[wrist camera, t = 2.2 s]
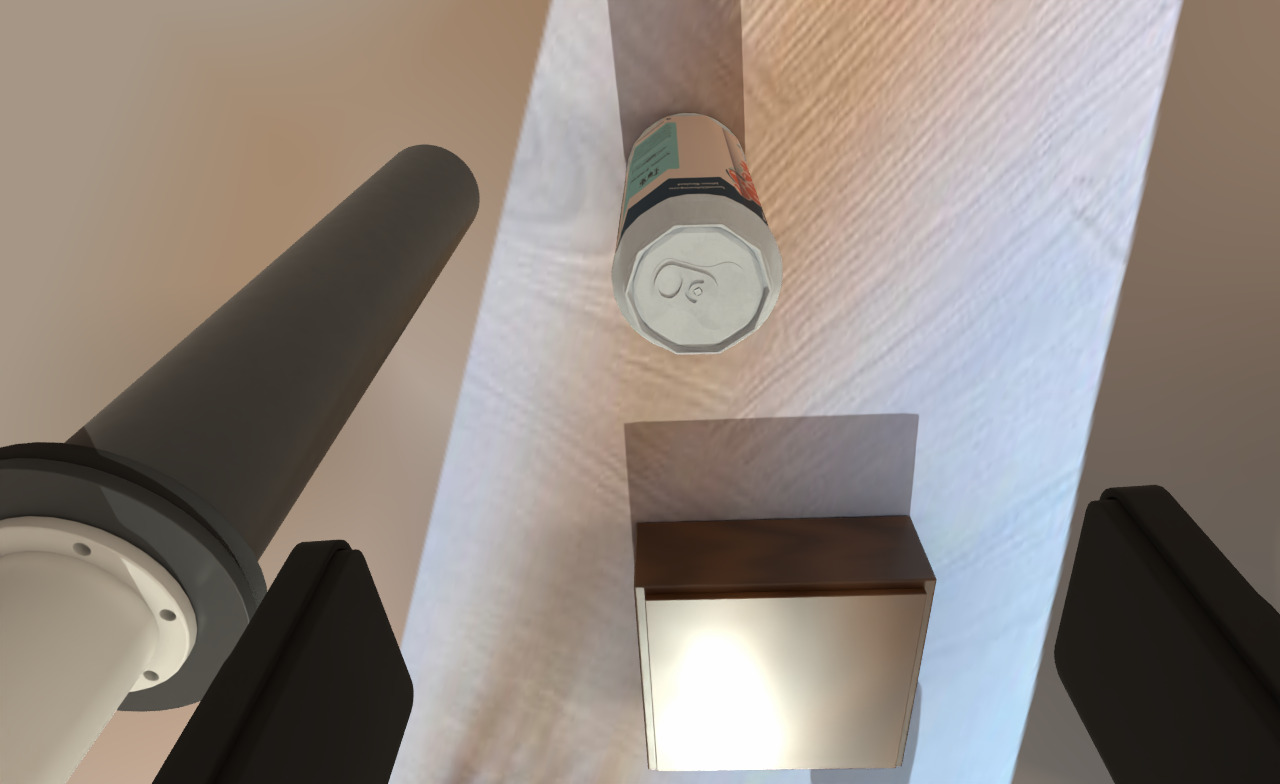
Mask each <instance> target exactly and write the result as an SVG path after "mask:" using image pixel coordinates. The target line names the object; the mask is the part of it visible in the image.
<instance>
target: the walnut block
mask: <svg viewBox="0 0 1280 784" xmlns="http://www.w3.org/2000/svg"><path fill="white" fill-rule="evenodd" d="M935 585H936V577H935V575H934V572H933V570H932V568H931V565H930V563H929V561H928V558H927V556H926V553H925V551H924V549H923V546H922V544H921V542H920V539H919V537H918V534H917V532H916V530H915V527H914V525H913V523H912V520H911V518H910V516H887V517H849V518H812V519H774V520H737V521H700V522H662V523H637V525H636V547H635V572H634V594H635V607H636V620H637V632H638V645H639V658H640V671H641V684H642V696H643V709H644V722H645V735H646V747H647V760H648V769H650V770H654V769H657V771H694V770H778V769H861V768H896V767H900V766H902V761H903V756H904V751H905V745H906V740H907V735H908V729H909V724H910V719H911V713H912V708H913V703H914V697H915V692H916V687H917V681H918V676H919V670H920V665H921V660H922V654H923V649H924V644H925V638H926V633H927V628H928V622H929V617H930V612H931V606H932V601H933V596H934V590H935Z"/></svg>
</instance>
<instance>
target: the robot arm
mask: <svg viewBox="0 0 1280 784" xmlns="http://www.w3.org/2000/svg"><path fill="white" fill-rule="evenodd" d="M196 634H197V624H196V617H195V613H194V610H193V608H192V606H191V603H190V601H189V598H188V597H187V595H186V594H185V592H184V591H183V589H182V588H181V586H180V585H179V583H178V582H177V581H176V580H175V579H174V578H173V577H172V575H171V574H170V573H169V572H168V571H167V570H166V569H165V568H164V567H163V566H162V565H161V564H159V563H158V562H157V561H156V560H154V559H153V558H152V557H151V556H149V555H148V554H147V553H145V552H144V551H142V550H141V549H139V548H137V547H136V546H134V545H132V544H131V543H129V542H127V541H126V540H124V539H122V538H120V537H117V536H115V535H113V534H111V533H109V532H106V531H104V530H102V529H99V528H96V527H93V526H89V525H86V524H83V523H80V522H76V521H71V520H65V519H60V518H54V517H38V516H25V517H16V518H7V519H4V520H1V521H0V784H66V782H67V781H68V779H69V778H70V776H71V775H72V774H73V772H74V771H75V769H76V767H77V766H78V765H79V763H80V762H81V761H82V759H83V758H84V756H85V755H86V753H87V752H88V750H89V749H90V748H91V746H92V745H93V743H94V742H95V740H96V739H97V738H98V736H99V734H100V733H101V732H102V730H103V729H104V727H105V726H106V725H107V723H108V722H109V720H110V719H111V717H112V716H113V714H114V713H115V712H116V710H117V709H118V707H119V706H120V704H121V703H122V701H123V700H124V699H125V697H126V696H127V694H128V693H129V692H134V691H138V690H142V689H146V688H150V687H153V686H155V685H158V684H160V683H162V682H164V681H166V680H167V679H169V678H170V677H171V676H173V675H174V674H175V673H176V672H178V670H179V669H180V667H181V666H182V665H183V663H184V662H185V660H186V659H187V657H188V656H189V654H190V652H191V650H192V648H193V646H194V644H195V641H196ZM1054 655H1055V656H1054V657H1055V664H1056V668H1057V671H1058V675H1059V677H1060V679H1061V681H1062V683H1063V685H1064V687H1065V689H1066V690H1067V693H1068V695H1069V697H1070V698H1071V700H1072V702H1073V704H1074V706H1075V708H1076V710H1077V712H1078V714H1079V716H1080V718H1081V720H1082V722H1083V723H1084V725H1085V727H1086V729H1087V731H1088V733H1089V735H1090V737H1091V739H1092V741H1093V743H1094V745H1095V746H1096V748H1097V750H1098V752H1099V754H1100V756H1101V758H1102V760H1103V762H1104V763H1105V766H1106V768H1107V769H1108V771H1109V773H1110V775H1111V777H1112V779H1113V781H1114V783H1115V784H1280V614H1279V613H1278V612H1277V611H1276V610H1275V609H1274V608H1273V606H1272V605H1270V604H1269V603H1268V602H1267V601H1266V600H1265V599H1264V598H1263V597H1261V596H1260V595H1259V594H1258V593H1257V592H1256V591H1255V590H1254V588H1253V587H1252V586H1251V585H1250V584H1249V583H1248V582H1247V581H1246V579H1245V578H1244V577H1243V576H1242V575H1241V574H1240V573H1239V571H1238V570H1237V569H1236V568H1235V567H1234V566H1233V565H1232V564H1231V562H1230V561H1229V560H1228V559H1227V558H1226V557H1225V556H1224V555H1223V553H1222V552H1221V551H1220V550H1219V549H1218V548H1217V546H1216V545H1215V544H1214V543H1213V542H1212V541H1211V540H1210V539H1209V537H1208V536H1207V535H1206V534H1205V533H1204V532H1203V531H1202V530H1201V528H1200V527H1199V526H1198V525H1197V524H1196V523H1195V522H1194V520H1193V519H1192V518H1191V517H1190V516H1189V515H1188V514H1187V512H1186V511H1185V510H1184V509H1183V508H1182V507H1181V506H1180V505H1179V504H1178V502H1177V501H1176V500H1175V499H1174V498H1173V497H1172V495H1171V494H1170V493H1169V492H1168V491H1167V490H1165V489H1164V488H1163V487H1161V486H1158V485H1148V486H1147V485H1146V486H1131V487H1116V488H1109V489H1106V490H1105V491H1104V492H1103V493H1102V495H1101V497H1100V500H1099V501H1092V502H1090V503H1089V504H1088V507H1087V509H1086V513H1085V517H1084V522H1083V526H1082V530H1081V535H1080V539H1079V544H1078V548H1077V552H1076V557H1075V561H1074V565H1073V570H1072V574H1071V578H1070V583H1069V587H1068V592H1067V596H1066V600H1065V605H1064V609H1063V613H1062V618H1061V622H1060V626H1059V631H1058V635H1057V640H1056V644H1055V650H1054ZM412 706H413V684H412V680H411V678H410V675H409V672H408V670H407V667H406V665H405V662H404V659H403V657H402V654H401V651H400V649H399V646H398V644H397V641H396V638H395V636H394V633H393V631H392V628H391V625H390V623H389V620H388V618H387V615H386V613H385V610H384V607H383V605H382V602H381V599H380V597H379V594H378V592H377V589H376V586H375V584H374V581H373V579H372V576H371V573H370V571H369V568H368V565H367V563H366V560H365V558H364V556H363V554H362V552H361V551H359V550H352V549H351V547H350V545H349V544H348V543H347V542H346V541H345V540H329V541H313V542H301V543H299V544H297V545H296V546H295V547H294V549H293V550H292V552H291V553H290V555H289V557H288V558H287V560H286V562H285V563H284V565H283V567H282V568H281V570H280V572H279V573H278V575H277V577H276V578H275V580H274V582H273V584H272V585H271V587H270V589H269V590H268V592H267V594H266V595H265V597H264V599H263V600H262V602H261V604H260V605H259V607H258V609H257V610H256V612H255V614H254V615H253V617H252V619H251V621H250V622H249V624H248V626H247V627H246V629H245V631H244V632H243V634H242V636H241V637H240V639H239V641H238V642H237V644H236V646H235V648H234V649H233V651H232V653H231V654H230V655H229V657H228V658H227V659H226V661H225V662H224V663H223V665H222V666H221V668H220V670H219V672H218V673H217V675H216V677H215V678H214V680H213V682H212V683H211V685H210V687H209V688H208V690H207V692H206V693H205V695H204V697H203V698H202V700H201V702H200V704H199V705H198V707H197V708H196V710H195V712H194V713H193V715H192V717H191V719H190V720H189V722H188V724H187V726H186V727H185V729H184V730H183V732H182V734H181V736H180V737H179V739H178V740H177V742H176V744H175V745H174V747H173V749H172V750H171V752H170V754H169V755H168V757H167V759H166V760H165V762H164V764H163V766H162V768H161V769H160V771H159V772H158V774H157V776H156V777H155V779H154V781H153V782H152V784H388V782H389V779H390V775H391V772H392V769H393V766H394V763H395V760H396V757H397V754H398V751H399V747H400V744H401V741H402V738H403V735H404V732H405V729H406V726H407V723H408V720H409V716H410V713H411V710H412Z"/></svg>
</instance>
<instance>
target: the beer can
mask: <svg viewBox="0 0 1280 784" xmlns="http://www.w3.org/2000/svg"><path fill="white" fill-rule="evenodd" d="M612 284H613V293H614V296H615V299H616V302H617V304H618V306H619V308H620V310H621V313H622V315H623V316H624V318H625V319H626V320H627V322H628V323H629V324H630V326H631V327H632V328H633V329H634V330H635V331H636V332H638V333H639V334H640V335H641V336H643V337H644V338H645V339H647V340H648V341H650V342H651V343H653V344H655V345H657V346H660V347H662V348H665V349H667V350H669V351H671V352H673V353H674V354H676V355H682V354H720V353H722V352H723V351H725V350H726V349H728V348H729V347H732V346H734V345H736V344H737V343H739V342H740V341H742V340H743V339H745V338H746V337H748V336H749V335H751V334H752V333H753V332H755V331H756V330H757V329H758V328H759V327H760V326H761V325H762V324H763V323H764V322H765V320H766V319H767V318H768V316H769V315H770V313H771V311H772V309H773V308H774V306H775V304H776V302H777V299H778V295H779V292H780V288H781V285H782V258H781V254H780V252H779V249H778V246H777V243H776V240H775V237H774V236H773V234H772V232H771V230H770V229H769V227H768V224H767V221H766V218H765V216H764V213H763V210H762V207H761V204H760V202H759V199H758V196H757V193H756V190H755V188H754V185H753V182H752V179H751V176H750V173H749V171H748V168H747V164H746V158H745V155H744V153H743V150H742V147H741V145H740V143H739V141H738V139H737V138H736V136H735V135H734V134H733V133H732V132H731V131H730V130H729V129H728V128H727V127H726V126H724V125H723V124H721V123H720V122H719V121H717V120H716V119H713V118H711V117H708V116H706V115H701V114H697V113H680V114H675V115H671V116H667V117H665V118H663V119H660V120H658V121H657V122H656V123H654V124H653V125H651V126H650V127H649V128H647V129H646V130H645V131H644V132H643V133H642V134H641V136H640V137H639V138H638V139H637V140H636V142H635V144H634V145H633V148H632V150H631V153H630V156H629V159H628V164H627V169H626V179H625V186H624V193H623V200H622V207H621V215H620V222H619V229H618V236H617V243H616V250H615V256H614V261H613V267H612Z"/></svg>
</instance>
